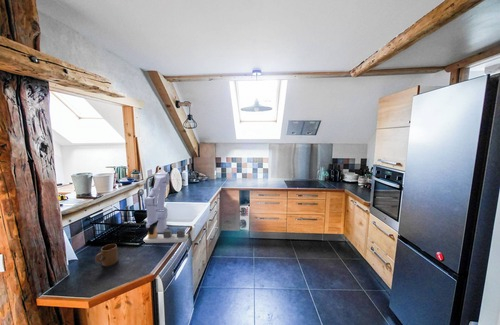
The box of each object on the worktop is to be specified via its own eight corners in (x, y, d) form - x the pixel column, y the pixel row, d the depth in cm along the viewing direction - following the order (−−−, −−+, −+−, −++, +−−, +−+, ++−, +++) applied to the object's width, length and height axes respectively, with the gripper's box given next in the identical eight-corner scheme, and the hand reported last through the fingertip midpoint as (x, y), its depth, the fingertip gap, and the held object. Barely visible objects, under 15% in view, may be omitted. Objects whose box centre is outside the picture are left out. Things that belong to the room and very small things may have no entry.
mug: (102, 273, 107) (100, 256, 105) (90, 270, 108) (89, 254, 107) (121, 259, 118) (120, 244, 117) (110, 257, 120) (109, 242, 119)
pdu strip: (147, 237, 143) (147, 228, 142) (188, 237, 145) (187, 227, 144) (143, 243, 136) (142, 233, 135) (185, 242, 138) (185, 232, 137)
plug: (150, 235, 141) (150, 225, 140) (157, 234, 142) (156, 225, 141) (148, 237, 138) (148, 227, 137) (155, 237, 138) (154, 227, 137)
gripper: (150, 210, 144) (151, 228, 146) (140, 218, 130) (141, 238, 132) (160, 210, 145) (161, 227, 147) (152, 218, 131) (153, 238, 132)
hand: (152, 232), depth 139 cm, fingers closed on plug, 3 cm apart
